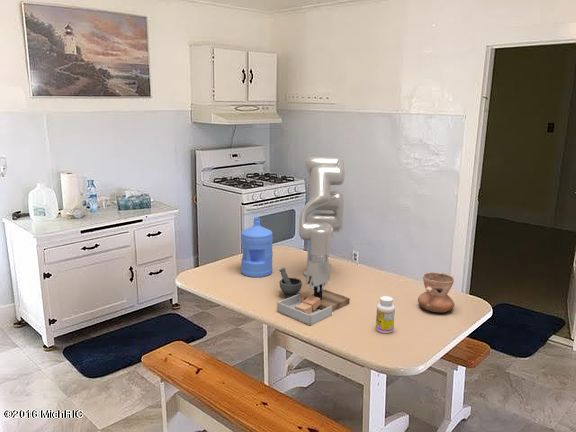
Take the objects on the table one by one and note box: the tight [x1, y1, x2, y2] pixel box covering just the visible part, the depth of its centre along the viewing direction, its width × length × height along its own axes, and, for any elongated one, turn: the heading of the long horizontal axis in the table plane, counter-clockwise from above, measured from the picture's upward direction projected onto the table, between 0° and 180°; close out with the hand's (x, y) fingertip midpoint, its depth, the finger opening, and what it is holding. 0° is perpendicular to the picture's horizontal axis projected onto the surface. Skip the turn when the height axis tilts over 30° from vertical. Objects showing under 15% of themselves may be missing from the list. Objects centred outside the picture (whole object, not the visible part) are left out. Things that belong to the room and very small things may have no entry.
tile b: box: [295, 302, 312, 314], centre depth 197 cm, size 5×5×3 cm
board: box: [302, 289, 351, 313], centre depth 208 cm, size 14×14×2 cm
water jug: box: [240, 216, 274, 278], centre depth 241 cm, size 16×16×28 cm
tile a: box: [302, 294, 321, 311], centre depth 200 cm, size 5×5×3 cm
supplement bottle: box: [375, 295, 396, 334], centre depth 183 cm, size 7×7×13 cm
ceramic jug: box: [417, 271, 455, 313], centre depth 204 cm, size 18×14×14 cm
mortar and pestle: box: [278, 267, 303, 299], centre depth 214 cm, size 11×9×12 cm
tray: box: [276, 293, 333, 326], centre depth 198 cm, size 13×18×4 cm
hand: (317, 299), depth 203 cm, fingers closed
